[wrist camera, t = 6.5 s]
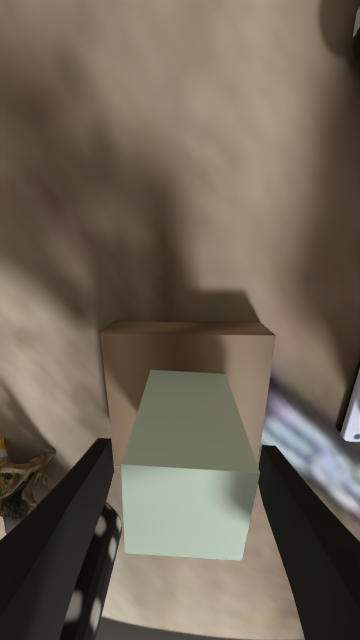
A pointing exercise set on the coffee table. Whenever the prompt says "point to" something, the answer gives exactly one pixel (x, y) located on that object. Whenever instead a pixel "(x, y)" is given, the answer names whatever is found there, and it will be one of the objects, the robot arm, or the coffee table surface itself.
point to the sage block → (188, 470)
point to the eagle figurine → (19, 485)
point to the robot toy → (357, 36)
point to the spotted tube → (93, 579)
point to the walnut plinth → (186, 367)
